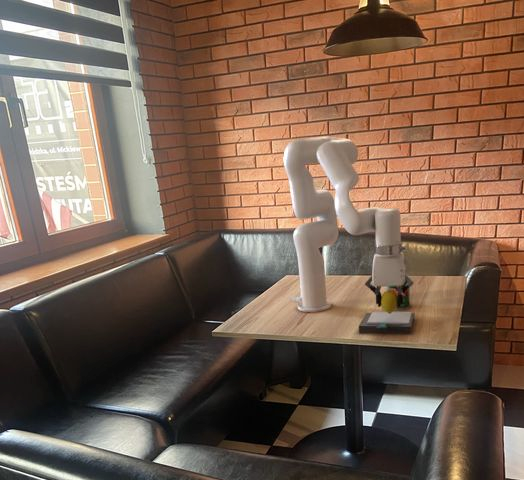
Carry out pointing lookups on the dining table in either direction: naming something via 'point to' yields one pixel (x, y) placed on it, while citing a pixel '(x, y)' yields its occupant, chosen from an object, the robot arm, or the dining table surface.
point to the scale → (387, 323)
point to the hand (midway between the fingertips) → (389, 305)
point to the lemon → (389, 301)
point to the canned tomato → (405, 296)
